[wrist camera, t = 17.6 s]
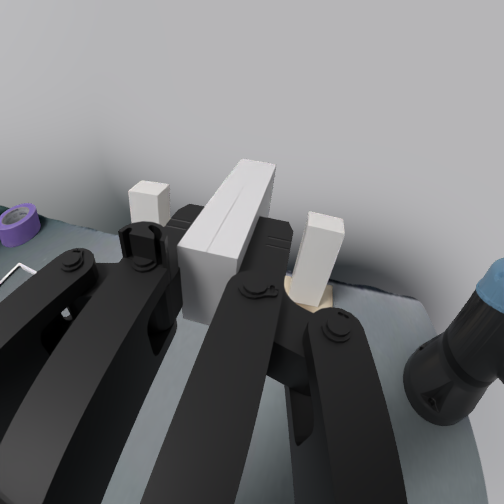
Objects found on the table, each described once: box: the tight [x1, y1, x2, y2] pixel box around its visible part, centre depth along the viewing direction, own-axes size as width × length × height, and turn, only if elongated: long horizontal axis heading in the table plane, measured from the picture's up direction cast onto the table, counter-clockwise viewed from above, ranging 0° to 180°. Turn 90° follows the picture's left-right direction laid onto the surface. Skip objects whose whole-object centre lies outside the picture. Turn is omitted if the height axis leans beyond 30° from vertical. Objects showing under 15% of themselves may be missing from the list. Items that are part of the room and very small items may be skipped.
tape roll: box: [0, 203, 41, 247], centre depth 51 cm, size 12×12×5 cm
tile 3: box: [129, 181, 170, 227], centre depth 45 cm, size 5×4×14 cm
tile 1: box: [288, 211, 345, 307], centre depth 43 cm, size 5×4×14 cm
